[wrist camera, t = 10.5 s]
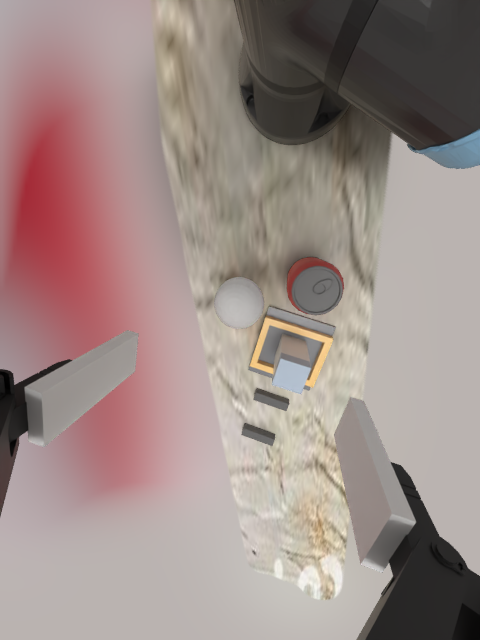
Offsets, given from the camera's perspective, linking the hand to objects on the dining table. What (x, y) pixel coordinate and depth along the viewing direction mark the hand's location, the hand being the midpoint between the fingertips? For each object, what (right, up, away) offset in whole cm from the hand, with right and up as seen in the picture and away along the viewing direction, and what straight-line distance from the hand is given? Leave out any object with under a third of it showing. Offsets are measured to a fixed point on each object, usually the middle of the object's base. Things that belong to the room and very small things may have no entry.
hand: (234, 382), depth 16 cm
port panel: (+9, -1, +28) cm, 30 cm away
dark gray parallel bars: (+5, -14, +33) cm, 36 cm away
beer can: (+11, +10, +25) cm, 29 cm away
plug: (+9, -1, +28) cm, 29 cm away
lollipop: (+2, +9, +27) cm, 28 cm away
